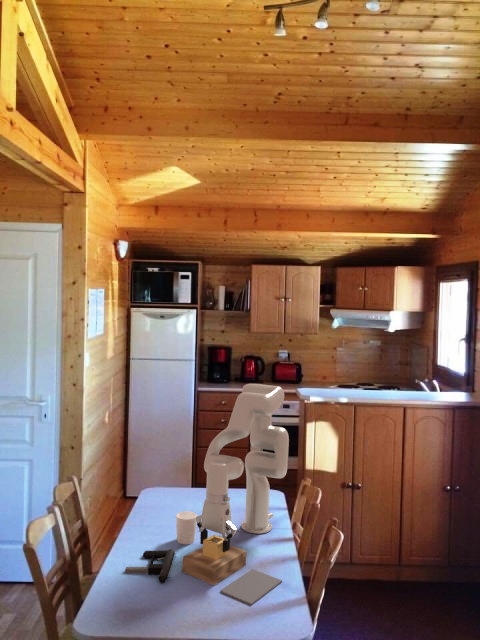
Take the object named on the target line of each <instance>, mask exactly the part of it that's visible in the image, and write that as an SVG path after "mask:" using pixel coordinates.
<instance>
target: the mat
mask: <svg viewBox="0 0 480 640" xmlns="http://www.w3.org/2000/svg"><path fill="white" fill-rule="evenodd" d="M282 582H283V580H282V579H279V578H278V577H274V576H271V575H269V574H266V573H264V572H261V571H258V570H256V569H253V568H251V569H250V570H249V571H247V572H246V573H244V574H242V575H241V576H240V577H238V578H237V579H235V580H233V581H232V582H231V583H229V584H228V585H226V586H224V587H223V588H221V589H220V591H219V592H220V593H221V594H223V595H226V596H228V597H231V598H232V599H235V600H237V601H240V602H242V603H244V604H247V605H249V606H253V605H254V604H256V603H257V602H258V601H259V600H260V599H262V598H264V597H265V596H266V595H267V594H268V593H270V592H271V591H273V589H275V588H277V587H278V586H279V585H280V584H282Z"/></svg>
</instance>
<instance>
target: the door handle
mask: <svg viewBox="0 0 480 640" xmlns="http://www.w3.org/2000/svg"><path fill="white" fill-rule="evenodd" d="M175 555H176V553H175V550H174V549H173V548H169V549H167V550H166V549H165V550H159V549H158V550H145V551H144V552H143V553H142V558H143V559H146V560H150V563H149V565H148V566H126V567H125V569H124V573H125V574H140V575H149V576H158V582H159V583H160V584H165V583H166V582H167V580H168V578H171V577H170V573H171V570H172V567H173V564H174V562H173V561H174V558H176V557H178V556H175ZM156 559H157V562H159V561H163V563H154V562H155V560H156Z"/></svg>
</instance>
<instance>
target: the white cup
mask: <svg viewBox="0 0 480 640" xmlns="http://www.w3.org/2000/svg"><path fill="white" fill-rule="evenodd" d="M197 516H198V515H197V513H195V512H193V511H186V510H185V511H180V512H178V513H177V514H176V517H175V518H176V520H175V521H176V541H177V543H178V544H180V545H191V544H194V543H195V541H196V539H195V538H196V532H197V531H196V530H197V522H196V517H197Z"/></svg>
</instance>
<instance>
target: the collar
mask: <svg viewBox="0 0 480 640" xmlns="http://www.w3.org/2000/svg"><path fill="white" fill-rule="evenodd" d="M213 540H218V543H215V542H213ZM223 540H224V538H223V536H219V535H216V534H213V535H211V536H208V538H207V539H205V540H203V544H202V547H203V555H205V556H208V557H210V558H213V559H215V560H217V559H219V558H221V557H222V556H224V555H226V554H227V551H226V552H223V551H222V548H223Z"/></svg>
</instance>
